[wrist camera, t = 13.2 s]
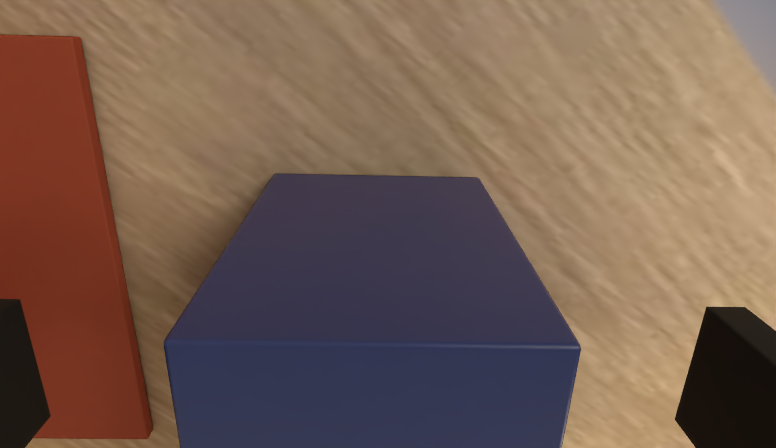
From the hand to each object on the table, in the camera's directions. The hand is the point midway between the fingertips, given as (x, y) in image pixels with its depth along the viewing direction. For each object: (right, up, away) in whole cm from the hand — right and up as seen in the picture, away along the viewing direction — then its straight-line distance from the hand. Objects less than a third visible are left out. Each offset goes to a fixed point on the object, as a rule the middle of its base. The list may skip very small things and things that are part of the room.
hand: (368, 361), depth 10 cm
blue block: (0, +2, +3) cm, 4 cm away
